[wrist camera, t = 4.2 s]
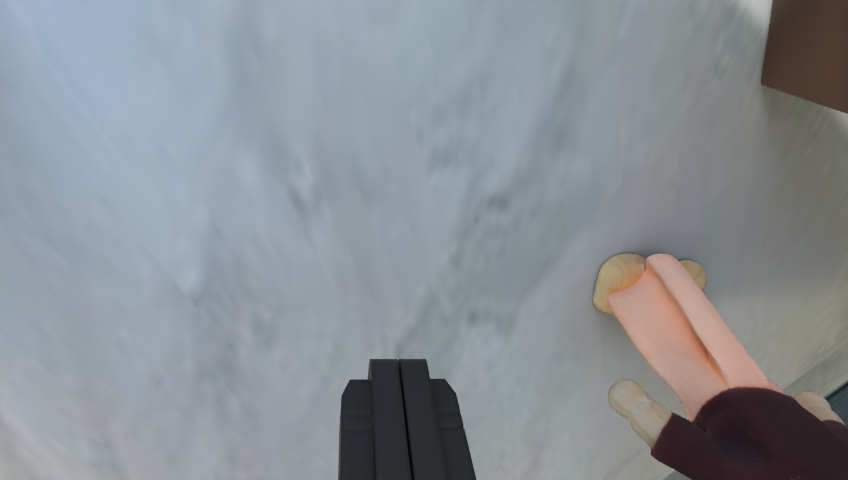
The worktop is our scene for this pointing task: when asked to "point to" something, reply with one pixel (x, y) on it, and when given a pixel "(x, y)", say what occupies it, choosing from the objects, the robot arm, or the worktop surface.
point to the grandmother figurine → (711, 384)
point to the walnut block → (809, 51)
